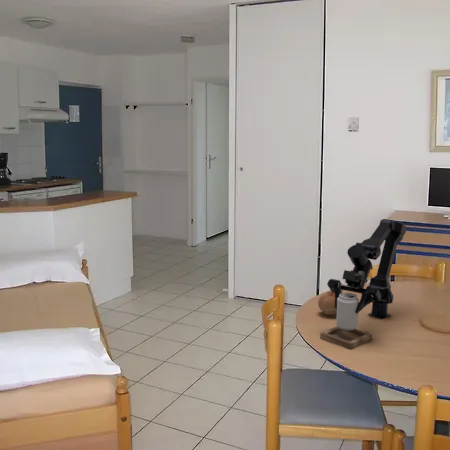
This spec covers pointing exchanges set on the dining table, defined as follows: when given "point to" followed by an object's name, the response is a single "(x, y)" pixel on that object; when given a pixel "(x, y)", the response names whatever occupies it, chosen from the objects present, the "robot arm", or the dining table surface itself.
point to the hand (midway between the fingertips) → (345, 310)
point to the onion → (327, 303)
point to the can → (347, 311)
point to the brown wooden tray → (346, 337)
